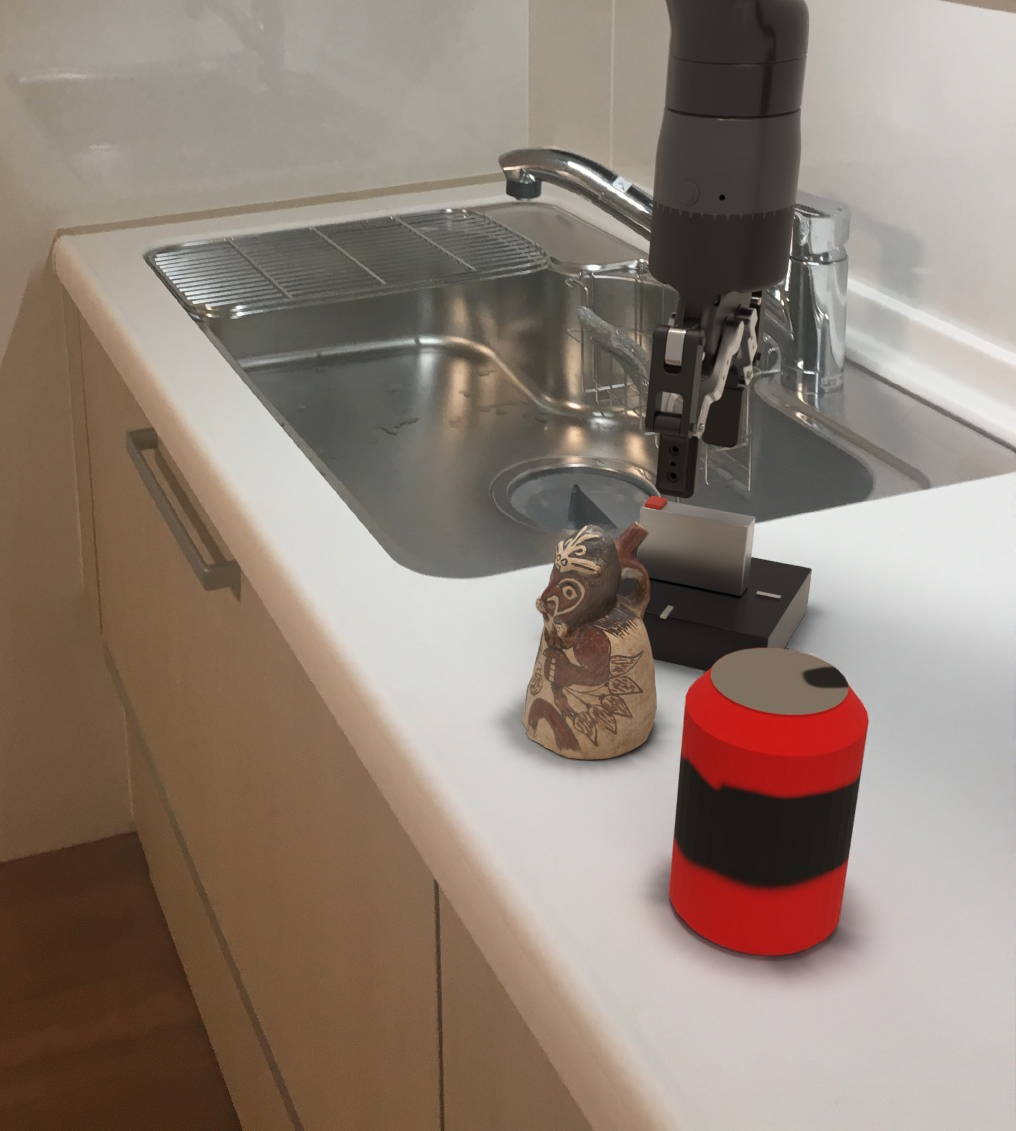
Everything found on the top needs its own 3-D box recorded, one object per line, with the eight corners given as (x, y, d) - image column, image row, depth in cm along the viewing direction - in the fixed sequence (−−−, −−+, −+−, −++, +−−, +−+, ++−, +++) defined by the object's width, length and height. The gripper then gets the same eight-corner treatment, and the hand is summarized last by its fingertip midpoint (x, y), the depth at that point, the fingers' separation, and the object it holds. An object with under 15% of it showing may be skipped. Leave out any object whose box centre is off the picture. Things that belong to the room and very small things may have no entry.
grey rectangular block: (748, 585, 93) (756, 512, 91) (741, 596, 92) (748, 522, 90) (644, 565, 96) (649, 493, 94) (635, 575, 95) (640, 503, 93)
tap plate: (808, 608, 97) (814, 563, 95) (761, 686, 88) (766, 638, 87) (624, 571, 102) (626, 527, 101) (563, 641, 94) (566, 594, 93)
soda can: (865, 954, 68) (902, 721, 63) (695, 966, 68) (717, 732, 62) (805, 850, 75) (833, 632, 69) (649, 861, 74) (666, 642, 69)
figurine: (511, 696, 88) (516, 505, 83) (632, 687, 89) (645, 496, 84) (540, 765, 82) (548, 562, 77) (671, 754, 82) (687, 552, 77)
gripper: (757, 229, 76) (727, 526, 84) (826, 171, 87) (794, 438, 95) (612, 215, 80) (595, 501, 87) (696, 160, 91) (675, 419, 98)
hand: (699, 468), depth 91 cm, fingers open, 8 cm apart
